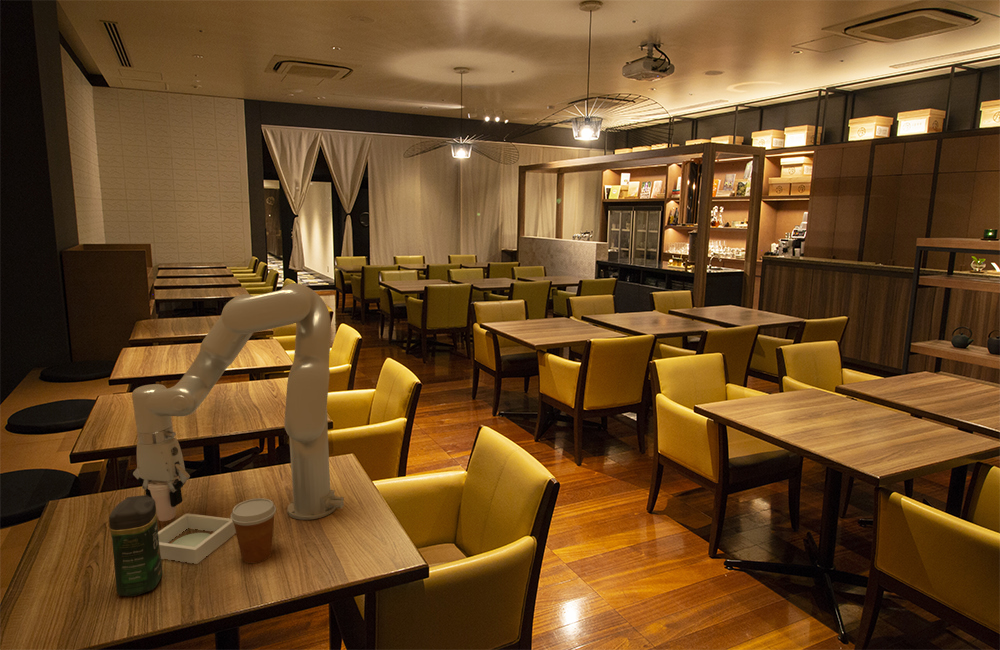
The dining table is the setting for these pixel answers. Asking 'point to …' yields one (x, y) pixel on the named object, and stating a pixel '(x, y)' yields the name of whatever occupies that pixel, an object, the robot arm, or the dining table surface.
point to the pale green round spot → (191, 539)
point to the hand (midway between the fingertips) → (165, 502)
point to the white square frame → (190, 554)
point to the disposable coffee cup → (254, 528)
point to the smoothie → (162, 499)
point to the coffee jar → (135, 545)
